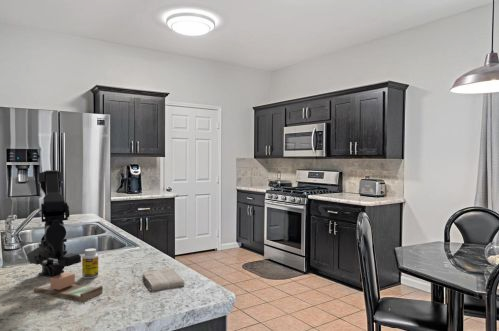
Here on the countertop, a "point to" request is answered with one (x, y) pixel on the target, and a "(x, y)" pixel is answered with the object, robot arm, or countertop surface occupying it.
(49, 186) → the robot arm
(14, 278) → the countertop surface
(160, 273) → the washcloth
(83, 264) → the supplement bottle
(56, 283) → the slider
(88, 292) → the switch base
